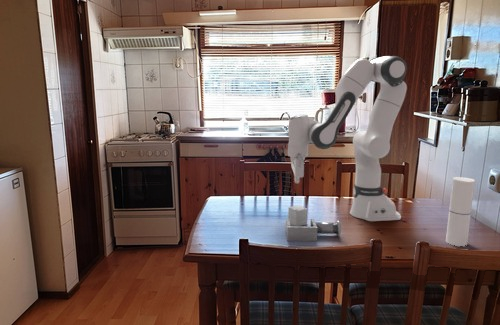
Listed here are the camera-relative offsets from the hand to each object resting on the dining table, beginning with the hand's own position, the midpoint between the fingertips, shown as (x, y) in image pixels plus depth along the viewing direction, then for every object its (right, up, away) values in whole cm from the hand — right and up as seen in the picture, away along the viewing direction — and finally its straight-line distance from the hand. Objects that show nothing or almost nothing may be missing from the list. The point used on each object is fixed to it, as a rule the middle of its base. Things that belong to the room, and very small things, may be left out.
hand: (296, 182), depth 163 cm
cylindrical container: (+58, -22, -23) cm, 66 cm away
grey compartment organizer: (+4, -20, -17) cm, 27 cm away
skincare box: (0, -18, -3) cm, 18 cm away
